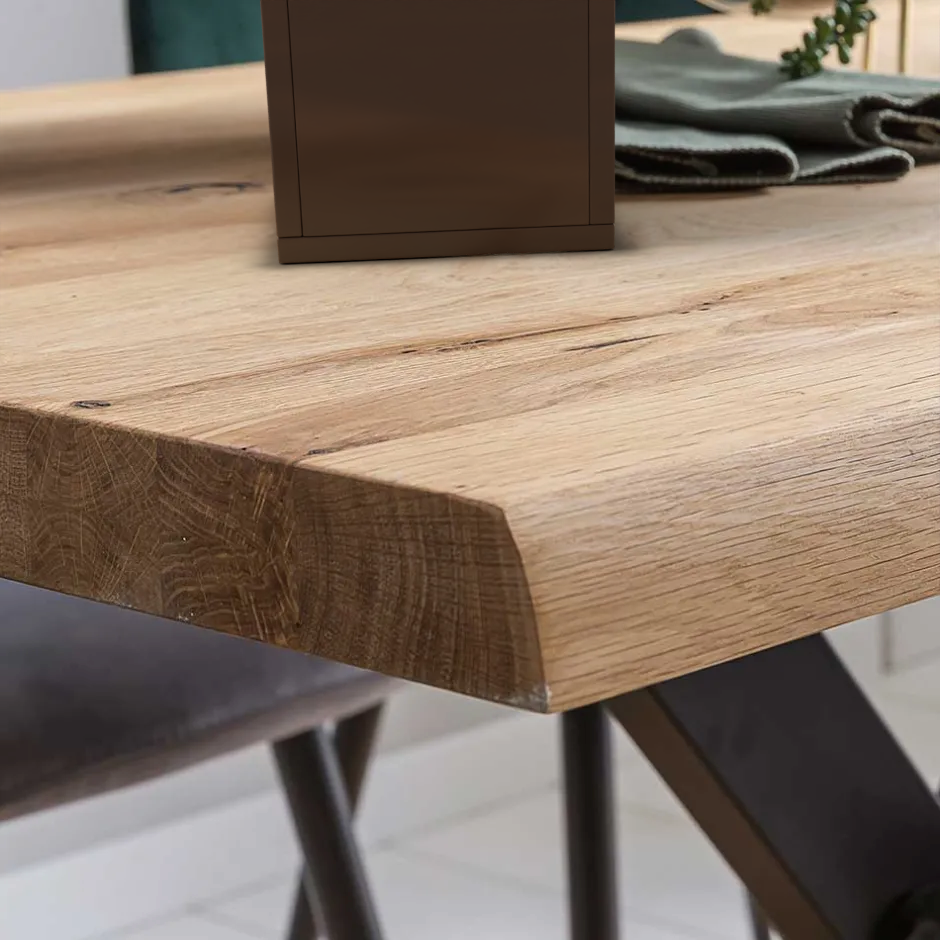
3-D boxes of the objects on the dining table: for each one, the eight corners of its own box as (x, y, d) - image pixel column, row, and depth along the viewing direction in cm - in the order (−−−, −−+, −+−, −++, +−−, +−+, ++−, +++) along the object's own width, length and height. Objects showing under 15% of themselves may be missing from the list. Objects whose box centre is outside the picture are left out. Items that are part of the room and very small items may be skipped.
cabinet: (293, 197, 68) (277, -42, 64) (565, 186, 68) (563, -51, 65) (278, 263, 55) (257, -32, 51) (615, 249, 55) (615, -44, 52)
